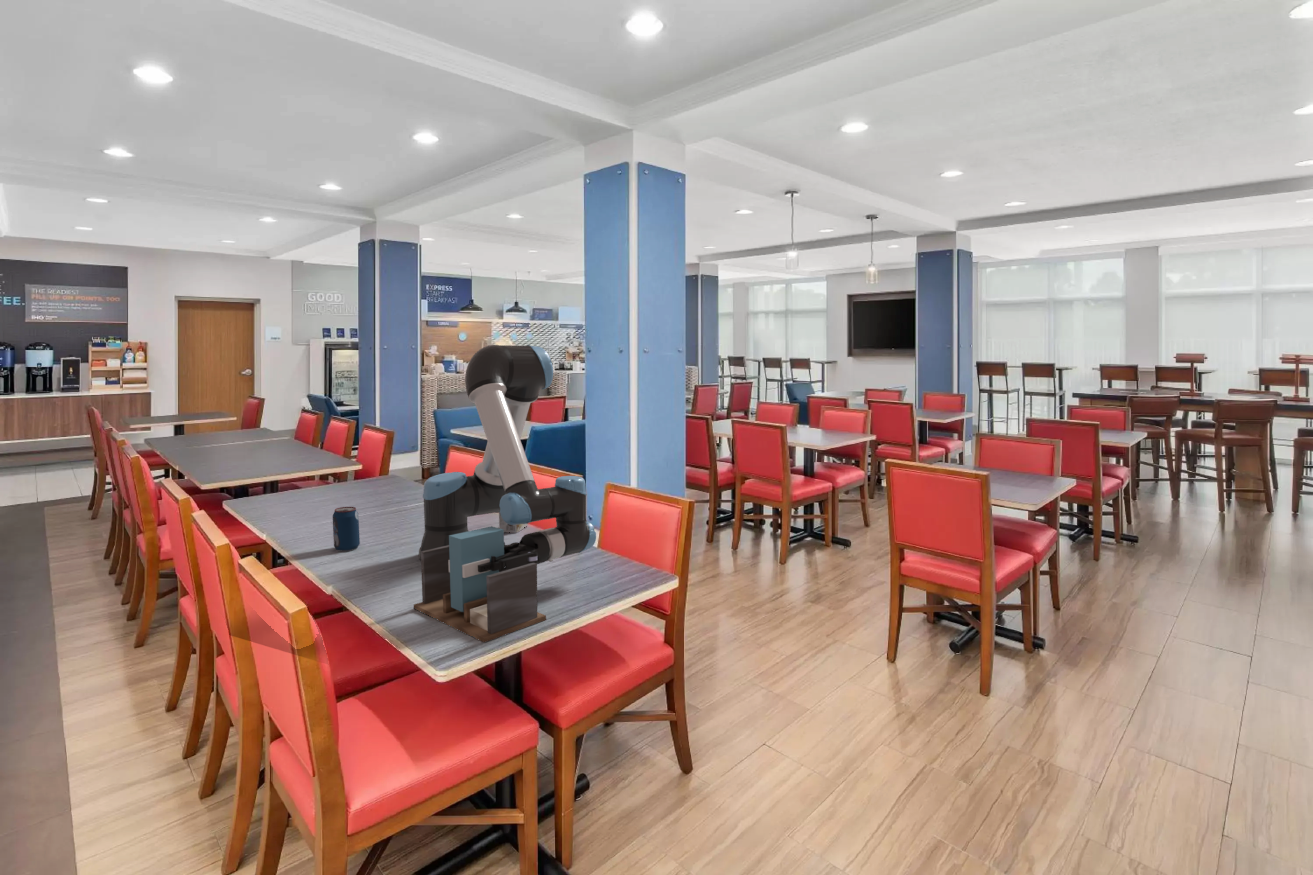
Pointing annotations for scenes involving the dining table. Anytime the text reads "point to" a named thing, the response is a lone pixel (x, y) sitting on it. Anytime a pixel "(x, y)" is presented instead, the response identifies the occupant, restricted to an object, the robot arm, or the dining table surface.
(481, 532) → the book
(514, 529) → the coffee box
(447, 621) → the book rack
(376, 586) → the dining table surface
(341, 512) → the soda can
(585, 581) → the dining table surface
